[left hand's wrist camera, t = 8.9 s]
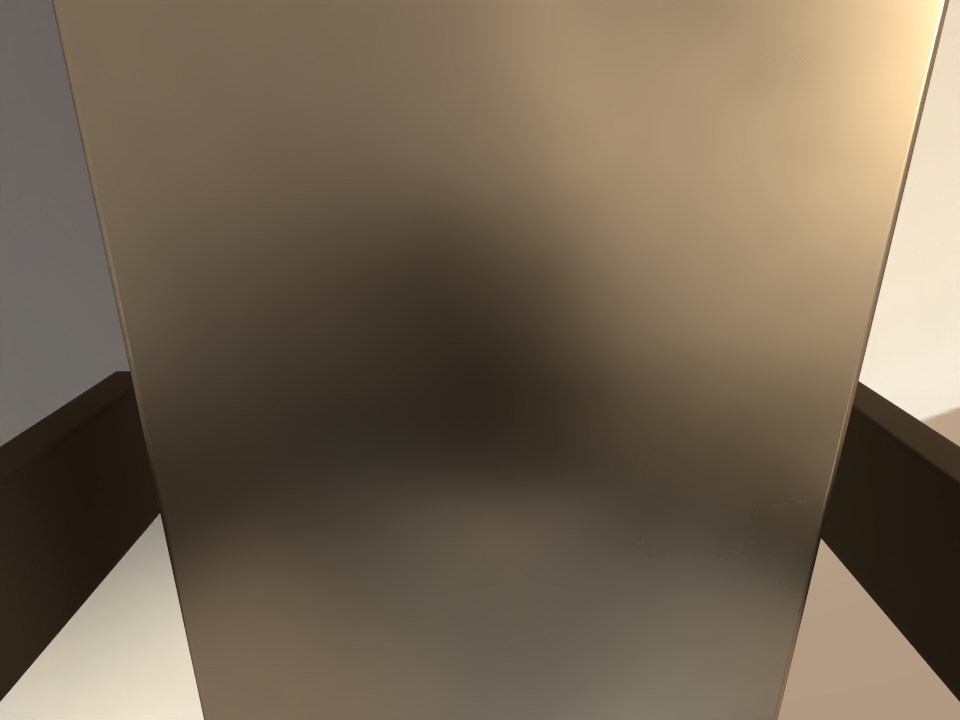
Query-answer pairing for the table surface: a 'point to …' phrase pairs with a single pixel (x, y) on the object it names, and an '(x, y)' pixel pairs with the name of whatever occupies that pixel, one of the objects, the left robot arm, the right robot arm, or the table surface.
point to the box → (496, 333)
